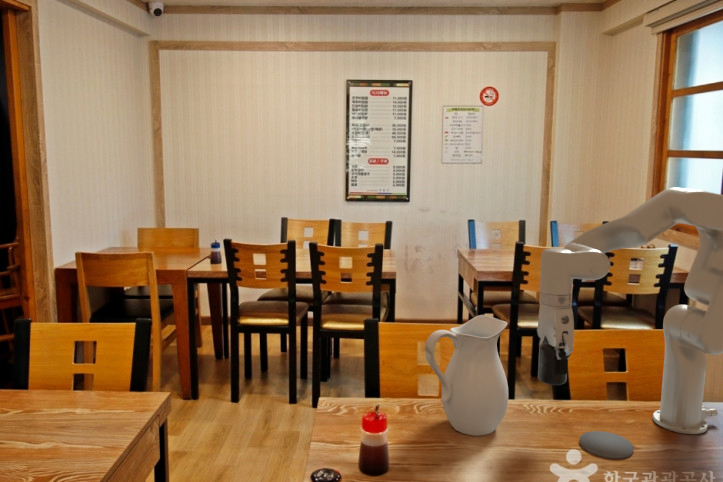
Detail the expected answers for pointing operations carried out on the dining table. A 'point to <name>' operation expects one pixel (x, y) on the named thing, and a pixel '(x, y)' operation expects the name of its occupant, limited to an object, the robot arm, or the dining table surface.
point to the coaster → (606, 445)
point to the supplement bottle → (549, 365)
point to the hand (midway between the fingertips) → (552, 367)
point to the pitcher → (472, 376)
